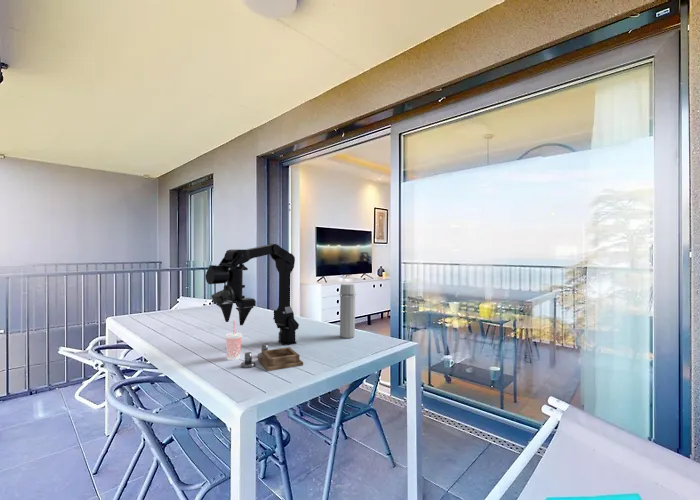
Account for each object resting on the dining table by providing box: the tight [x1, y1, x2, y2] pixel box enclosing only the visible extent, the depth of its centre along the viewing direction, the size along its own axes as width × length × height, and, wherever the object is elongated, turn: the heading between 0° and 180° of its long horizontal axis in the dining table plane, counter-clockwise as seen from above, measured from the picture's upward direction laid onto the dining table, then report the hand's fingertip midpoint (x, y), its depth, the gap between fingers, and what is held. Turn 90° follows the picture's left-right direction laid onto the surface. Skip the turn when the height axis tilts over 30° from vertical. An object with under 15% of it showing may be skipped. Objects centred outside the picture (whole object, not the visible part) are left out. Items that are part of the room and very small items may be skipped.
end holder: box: [257, 346, 304, 372], centre depth 123 cm, size 13×13×4 cm
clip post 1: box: [240, 351, 256, 369], centre depth 120 cm, size 5×5×4 cm
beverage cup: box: [224, 321, 243, 361], centre depth 128 cm, size 6×6×14 cm
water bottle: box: [338, 283, 357, 339], centre depth 160 cm, size 9×8×25 cm
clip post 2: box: [257, 343, 269, 358], centre depth 131 cm, size 5×5×4 cm
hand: (234, 323), depth 128 cm, fingers open, 9 cm apart
